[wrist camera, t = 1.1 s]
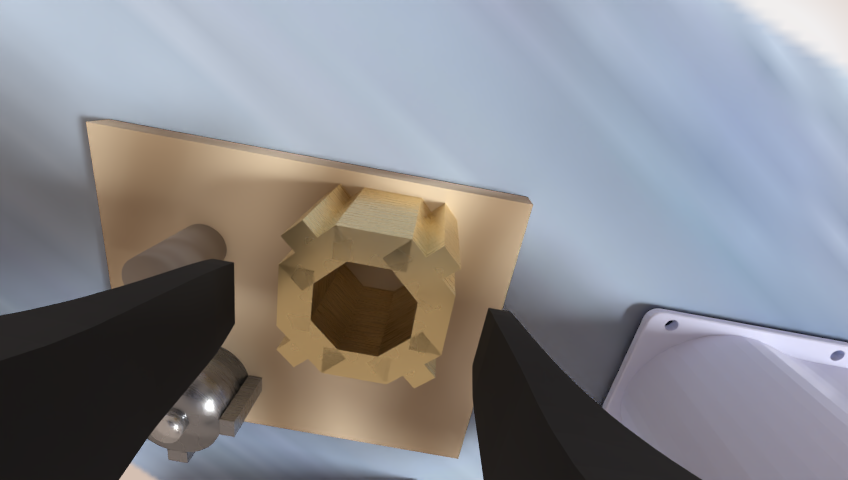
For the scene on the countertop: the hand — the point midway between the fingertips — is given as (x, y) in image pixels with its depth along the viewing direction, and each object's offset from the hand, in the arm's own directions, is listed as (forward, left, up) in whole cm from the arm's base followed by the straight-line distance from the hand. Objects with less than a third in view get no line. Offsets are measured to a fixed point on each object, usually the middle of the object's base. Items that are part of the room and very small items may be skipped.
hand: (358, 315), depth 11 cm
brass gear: (0, 0, -4) cm, 4 cm away
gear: (+7, +8, -4) cm, 11 cm away
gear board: (+3, +4, -5) cm, 7 cm away
